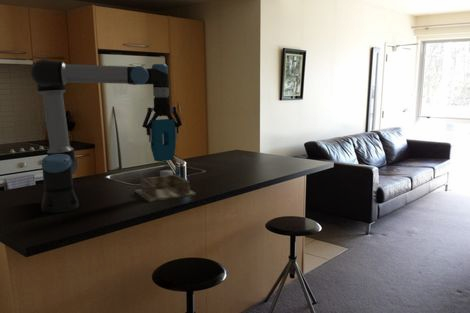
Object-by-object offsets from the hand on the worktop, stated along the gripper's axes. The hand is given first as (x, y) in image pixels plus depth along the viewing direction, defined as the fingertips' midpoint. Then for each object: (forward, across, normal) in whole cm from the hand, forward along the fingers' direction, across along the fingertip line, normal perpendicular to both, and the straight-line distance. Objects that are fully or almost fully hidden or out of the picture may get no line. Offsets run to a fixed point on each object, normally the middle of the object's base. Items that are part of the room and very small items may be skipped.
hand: (163, 141), depth 197 cm
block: (+10, 0, 0) cm, 10 cm away
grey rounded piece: (+27, +7, +16) cm, 32 cm away
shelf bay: (+27, 0, 0) cm, 27 cm away
